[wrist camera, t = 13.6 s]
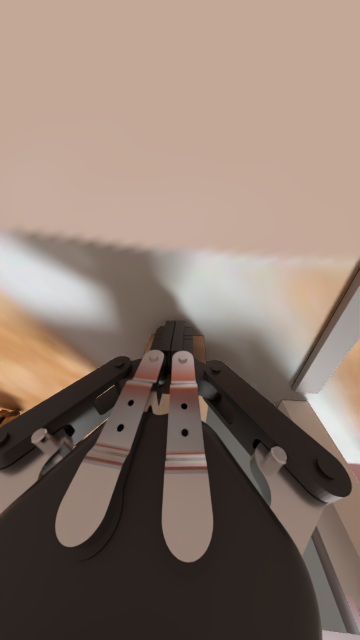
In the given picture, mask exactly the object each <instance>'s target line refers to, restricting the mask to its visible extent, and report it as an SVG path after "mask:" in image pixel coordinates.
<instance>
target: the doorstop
mask: <svg viewBox="0 0 360 640" xmlns="http://www.w3.org/2000/svg"><path fill="white" fill-rule="evenodd" d="M154 336H155V334H151V337H150V339H149V342H148V345H147V347H146V350H145V353H144V355H145V354H146V353H147V352H148V351H150V348H151V345H152V342H153V339H154ZM193 355H194V357H195V358H196V359H197V360H198V361H200V362H203V363H206V354H205V343H204V336H193ZM171 375H172V373H171V374H168V376H167V380H166V381H167V384H166V388H165V392H164V396H163V400H162V404H161V408H160V415H163V414H167V413H169V396H170V384H171ZM198 396H199V405H200V414H201V421H203V422H205V423H206V417H207V410H208V405H207V403H206V402H205V401H204V400H203V397H202V396H200V395H198Z"/></svg>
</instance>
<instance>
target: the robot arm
mask: <svg viewBox="0 0 360 640" xmlns="http://www.w3.org/2000/svg"><path fill="white" fill-rule="evenodd" d="M171 373H172V375H171V384H170V396H169V413H167V414H163V415H160V408H161V404H162V400H163V396H164V392H165V388H166V384H167V381H166V380H167V376H168V374H171ZM113 385H114V386H113ZM112 386H113V387H112ZM110 387H112V388H110ZM109 388H110V389H109ZM108 389H109V390H108ZM106 390H108V391H106ZM105 391H106V392H105ZM103 392H105V393H103ZM102 393H103V394H102ZM101 394H102V395H101ZM99 395H101V396H99ZM198 395H200V396H202V397H203V400H204V401H205V402H206V403H207V405H208V406H209V407H210V408H211V409H212V411H213V412H214V413H215V414H216V415H217V417H218V418H219V419H220V420H221V421H222V423H223V424H224V425H225V426H226V427H227V429H228V430H229V431H230V432H231V433H232V435H233V436H234V437H235V438H236V439H237V441H238V442H239V443H240V444H241V445H242V447H243V448H244V449H245V450H246V451H247V453H248V454H249V455H250V456H251V458H250V469H251V472H252V475H253V477H254V479H255V480H256V482H257V483H258V485H259V487H260V489H261V492H262V496H263V497H262V496H261V494H260V493H259V491H258V490H257V489H256V487H255V486H254V484H253V483H252V482H251V480H250V479H249V478H248V476H247V475H246V473H245V472H244V471H243V469H242V468H241V466H240V465H239V464H238V462H237V461H236V459H235V458H234V457H233V455H232V454H231V453H230V451H229V450H228V448H227V447H226V446H225V444H224V443H223V441H222V440H221V439H220V437H219V436H218V434H217V433H216V432H215V431H214V430H213V429H212V428H211V427H210V426H209V425H208V424H206V423H205V422H203V421H201V414H200V405H199V396H198ZM98 396H99V397H98ZM97 397H98V398H97ZM108 417H109V418H108ZM107 418H108V420H107V421H105V422H104V423H103V424H101V423H102V422H103V421H104V420H106V419H107ZM100 424H101V425H100ZM98 425H100V426H99V427H98V428H97V429H95V428H96V427H97V426H98ZM94 429H95V430H94ZM92 430H94V431H93V432H92V433H91V434H90V435H89V436H88V437H86V438H85V439H84V440H83V441H82V442H81V443H80V444H78V445H77V446H76V447H75V448H74V449H73V446H74V445H76V444H77V443H78V442H79V441H80V440H82V439H83V438H84V437H85V436H86V435H88V434H89V433H90V432H91V431H92ZM72 449H73V450H72ZM351 491H352V483H351V479H350V477H349V475H348V473H347V471H346V469H345V468H344V466H343V465H342V464H341V463H340V461H339V460H338V459H337V458H336V457H334V456H333V455H332V454H331V453H330V452H329V451H327V450H326V449H325V448H324V447H323V446H321V445H320V444H319V443H318V442H317V441H316V440H314V439H313V438H312V437H311V436H310V435H308V434H307V433H306V432H305V431H304V430H302V429H301V428H300V427H299V426H298V425H296V424H295V423H294V422H293V421H292V420H290V419H289V418H288V417H287V416H286V415H285V414H283V413H282V412H281V411H280V410H279V409H277V408H276V407H275V406H274V405H273V404H271V403H270V402H269V401H268V400H267V399H265V398H264V397H263V396H262V395H261V394H259V393H258V392H257V391H256V390H255V389H254V388H252V387H251V386H250V385H249V384H248V383H246V382H245V381H244V380H243V379H242V378H240V377H239V376H238V375H237V374H236V373H234V372H233V371H232V370H231V369H230V368H228V367H227V366H226V365H225V364H224V363H222V362H220V361H216V360H212V361H209V362H207V363H203V362H200V361H198V360H197V359H196V358H195V357H194V355H193V330H192V329H191V327H185V321H176V322H175V321H166V325H165V327H159V328H158V329H157V330H156V333H155V336H154V339H153V342H152V345H151V348H150V351H148V352H147V353H146V354H145V355H144V356H143V358H141V359H138V360H134V361H131V360H130V359H129V358H128V357H126V356H120V357H117V358H115V359H113V360H111V361H110V362H108V363H106V364H105V365H103V366H101V367H100V368H98V369H96V370H95V371H93V372H91V373H90V374H88V375H86V376H85V377H83V378H81V379H80V380H78V381H76V382H75V383H73V384H71V385H70V386H68V387H66V388H65V389H63V390H61V391H60V392H58V393H57V394H55V395H53V396H52V397H50V398H48V399H47V400H45V401H43V402H42V403H40V404H38V405H37V406H35V407H33V408H32V409H30V410H28V411H27V412H25V413H23V414H22V415H20V416H18V417H17V418H15V419H13V420H12V421H10V422H8V423H7V424H5V425H3V426H2V427H0V640H322V625H321V618H320V611H319V606H318V601H317V597H316V593H315V590H314V586H313V583H312V580H311V577H310V574H309V572H308V569H307V567H306V564H305V562H304V560H303V558H302V555H303V553H304V550H305V548H306V546H307V544H308V542H309V540H310V538H311V535H312V533H313V531H314V529H315V527H316V525H317V522H318V520H319V518H320V516H321V514H322V512H323V509H324V507H325V506H326V505H328V504H331V503H333V502H335V501H337V500H340V499H342V498H344V497H347V496H349V494H350V493H351Z"/></svg>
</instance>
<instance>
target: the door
mask: <svg viewBox="0 0 360 640" xmlns="http://www.w3.org/2000/svg"><path fill="white" fill-rule="evenodd" d="M206 424H208V425H209V426H210V427H211V428H212V429H213V430H214V431H215V432H216V433H217V434H218V436H219V437H220V439H221V440H222V441H223V443H224V444H225V446H226V447H227V448H228V450H229V451H230V453H231V454H232V455H233V457H234V458H235V459H236V461H237V462H238V464H239V465H240V466H241V468H242V469H243V471H244V472H245V473H246V475H247V476H248V478H249V479H250V480H251V482H252V483H253V484H254V486H255V487H256V489H257V490H258V491H259V493H260V494H261V496H262V492H261V489H260V487H259V485H258V483H257V482H256V480H255V479H254V477H253V475H252V472H251V469H250V458H251V456H250V455H249V454H248V453H247V451H246V450H245V449H244V448H243V447H242V445H241V444H240V443H239V442H238V441H237V439H236V438H235V437H234V436H233V435H232V433H231V432H230V431H229V430H228V429H227V427H226V426H225V425H224V424H223V423H222V421H221V420H220V419H219V418H218V417H217V415H216V414H215V413H214V412H213V411H212V409H211V408H210V407H209V406H208V410H207V417H206ZM262 497H263V496H262ZM302 558H303V560H304V562H305V564H306V567H307V569H308V572H309V574H310V577H311V580H312V583H313V586H314V590H315V593H316V597H317V601H318V606H319V611H320V618H321V625H322V630H326V631H333V632H341V633H351V634H357V635H360V632H359V629H358V627H357V625H356V622H355V620H354V617H353V615H352V612H351V610H350V607H349V605H348V602H347V600H346V598H345V595H344V592H343V590H342V587H341V585H340V582H339V580H338V578H337V575H336V573H335V570H334V568H333V565H332V563H331V560H330V558H329V555H328V553H327V550H326V548H325V545H324V543H323V540H322V538H321V535H320V533H319V531H318V528H317V526H316V527H315V529H314V531H313V533H312V535H311V538H310V540H309V542H308V544H307V546H306V548H305V550H304V553H303V555H302Z"/></svg>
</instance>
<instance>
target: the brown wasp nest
mask: <svg viewBox="0 0 360 640" xmlns="http://www.w3.org/2000/svg"><path fill="white" fill-rule="evenodd" d="M18 416H20V412H19V410H14V411H11V412H9V411H7V410H1V411H0V427H2V426H3V425H5V424H7V423H8V422H10V421H12V420H13V419H15V418H17V417H18Z"/></svg>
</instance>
